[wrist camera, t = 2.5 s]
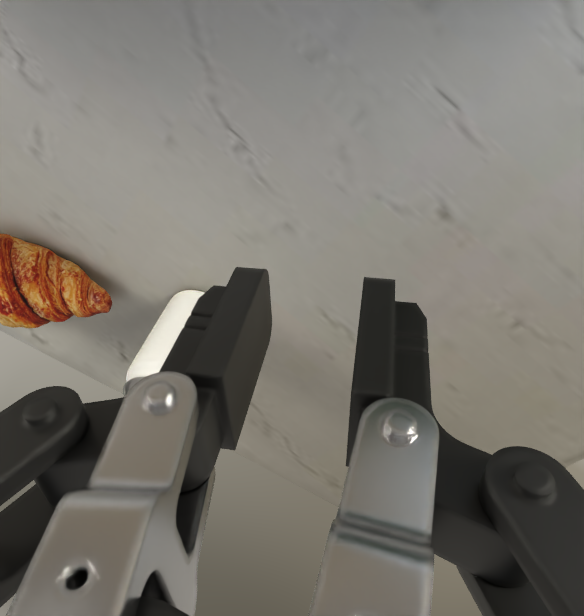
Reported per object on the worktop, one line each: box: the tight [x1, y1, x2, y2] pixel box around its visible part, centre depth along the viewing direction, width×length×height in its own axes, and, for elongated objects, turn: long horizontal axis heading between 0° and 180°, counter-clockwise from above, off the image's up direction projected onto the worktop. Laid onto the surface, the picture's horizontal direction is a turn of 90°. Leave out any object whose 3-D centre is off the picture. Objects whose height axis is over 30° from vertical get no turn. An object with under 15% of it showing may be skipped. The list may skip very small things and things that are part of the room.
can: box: [123, 290, 206, 397], centre depth 45 cm, size 6×6×12 cm
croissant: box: [0, 234, 112, 328], centre depth 48 cm, size 21×10×8 cm, turn 82°
